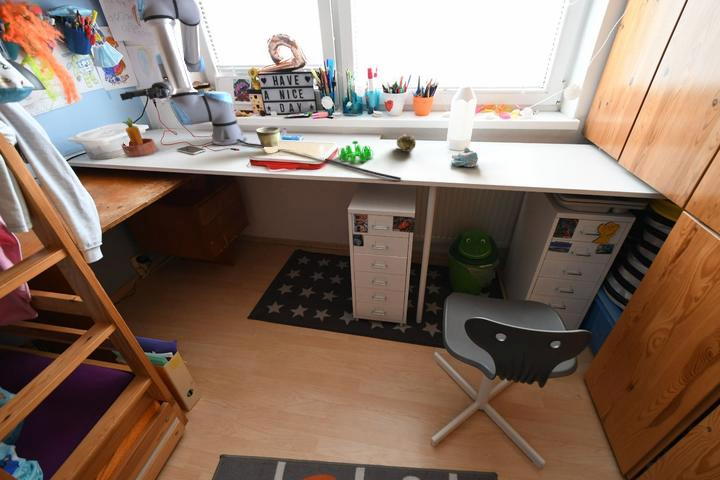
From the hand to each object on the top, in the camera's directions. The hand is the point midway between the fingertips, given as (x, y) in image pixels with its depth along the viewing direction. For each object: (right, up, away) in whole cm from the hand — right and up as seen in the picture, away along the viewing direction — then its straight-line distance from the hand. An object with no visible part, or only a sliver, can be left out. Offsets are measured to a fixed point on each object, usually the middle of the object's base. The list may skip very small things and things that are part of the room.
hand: (135, 96), depth 148 cm
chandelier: (+102, -32, -12) cm, 107 cm away
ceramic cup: (+63, -25, +1) cm, 68 cm away
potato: (+123, -27, -7) cm, 127 cm away
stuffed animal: (+144, -37, -22) cm, 150 cm away
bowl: (0, -25, +4) cm, 25 cm away
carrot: (0, -24, +4) cm, 25 cm away
